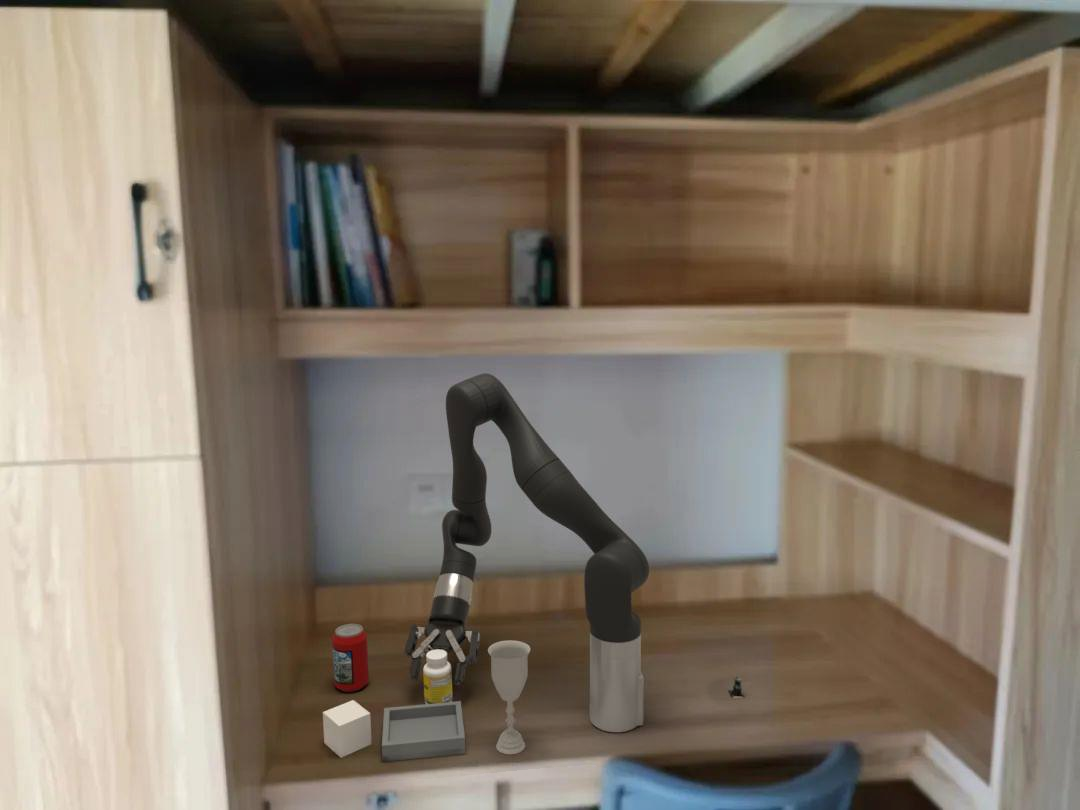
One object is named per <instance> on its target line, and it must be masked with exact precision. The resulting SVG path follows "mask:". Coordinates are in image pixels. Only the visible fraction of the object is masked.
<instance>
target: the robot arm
mask: <svg viewBox="0 0 1080 810" xmlns="http://www.w3.org/2000/svg"><path fill="white" fill-rule="evenodd" d="M445 412H446V413H445V414H446V415H445V416H446V421H447V429H448V438H449V443H450V444H449V445H450V451H451V457H452V485H451V486H452V487H451V503H452V506H453V507H454V508H455V509H451V510H449V511H447V513H446V514H445V515H444V516H443V519H442V521H441V522H442V523H441V531H442V540H443V556H442V557H443V558H442V563H441V568H440V572H439V577H438V579H437V583H436V586H435V588H434V595H433V599H432V604H431V608H430V613H429V618H428V623H427V625H426V626H425V627H422V626H418V625H417V624H415V623H414V624H412V625H411V626H410V629H409V633H408V637H407V641H406V644H405V648H404V650H403V651H404V654H405V655H406V657H408V658H409V659H411V663H410V668H409V672H408V673H409V676H410V677H411V678H410V679H411V680H413V681H414V682H418V681H419V680H418V679H419V677H420V676H419V675H420V671H421V667H422V666H421V665H422V660H423V659H424V658H426V654H427V653H428V652H429V651H432V650H436V649H440V650H444V651H446V652H447V653H449V654H451V653H452V652H455V654H456V656H457V658H458V662H457V663H456V668H455V675H454V679H453V681H454V682H453V683H454V685H456V686H460V685H461V683H464V680H465V676H466V671H467V667H468V665H471V664H477V663H478V659H479V650H480V643H481V642H480V641H481V635H480V632H479V631H478V629H477V628H476V629H472V630H467V629H466V628H467V622H468V618H469V614H470V613H469V611H470V608H471V606H470V605H471V604H472V596H473V585H474V578H475V573H476V569H477V568H476V567H477V557H476V556H475V555H474V554H473V553H471V552H469V551H468V550H465V549H462V548H461V547H459V546H457V544H458V545H459V544H460V545H465V546H473V547H483V546H485V545H486V544H487V543H488V542H489V540H490V539H491V536H492V523H491V518H490V515H489V512H488V507H487V502H486V496H487V481H488V480H487V479H488V477H487V475H488V474H487V468H486V466H485V463H484V462H483V460H482V458H481V457H480V455H479V454H478V452H477V450H476V448H475V445H474V438H475V431H476V430H477V429H476V428H477V427H479V426H481V425H484V424H486V423H488V422H490V421H492V422H493V423H494V424H495V425H496V426H497V428H498V429H499V431H501V433H502V434H503V435H504V437H505V440H507V443H508V445H509V451H510V457H511V465H512V470H513V476H514V479H515V481H516V483H517V485H518V487H519V488H520V489H521V490H522V492H523V493H524V494H525V496H526V498H528V499H529V501H530V502H531V503H532V504H533V506H534V507H535V508H536V509H537V510H538V511H539V512H540V513H541V514H543V515H545V516H546V517H547V518H549V519H551V520H552V521H554V522H556V523H558V524H559V525H561V526H563V527H564V528H566V529H568V530H570V531H571V532H573V533H574V534H575V535H576V536H578V537H579V538H580V539H581V540H582V541H583V542H584V543H585V545H587V546H588V548H589V549H590V550H591V552H592V553H593V555H592V556H591V557H589V558H588V560H587V562H586V565H585V567H584V568H585V569H584V578H583V579H584V580H583V583H584V607H585V615H586V619H587V621H588V623H589V720H590V722H591V724H592V725H594V727H595V728H597V729H599V730H602V731H604V732H610V733H625V732H629V731H631V730H633V729H635V728H637V727H638V726H639V727H640V726H644V698H645V696H644V695H645V694H644V691H645V690H644V689H645V687H644V685H645V683H644V681H645V680H644V675H643V673H642V671H641V665H642V664H641V661H642V659H641V658H642V656H641V655H642V654H641V653H642V652H641V649H642V643H641V642H642V620H641V617H640V616H639V615H638V614H637V613H636V612H635V611H633V610H632V607H633V606H632V593H633V592H635V591H636V590H638V589H639V588H640V587H641V586H643V585H644V584H645V583H646V582H647V580H648V578H649V575H650V574H649V573H650V566H649V561H648V559H647V557H646V555H645V553H644V552H643V550H642V548H640V547H639V546H638V544H637V543H636V542H635V541H634V540H633V539H632V538H631V537H630V536H629V535H628V534H627V533H626V532H624V530H622V528H620V526H619V525H618V524H616V523H615V521H613V520H612V519H611V518H610V517H609V515H607V514H606V512H605V511H603V509H602V508H601V506H599V504H598V503H597V502H596V501H595V500H594V498H592V496H591V495H590V494H589V493H588V491H587V490H586V489H585V488H584V487H583V486H582V484H580V482H579V481H578V480H577V479H576V477H575V476H574V474H573V473H572V471H570V469H568V467H567V466H566V465H565V463H564V462H563V461H562V460H561V459H560V458H559V457H558V455H557V454H556V452H554V451H553V450H552V449H551V448H550V447H549V445H548V444H547V443H546V442H545V440H544V439H543V438H542V436H541V435H540V434H539V433H538V432H537V430H536V429H535V427H534V426H533V425H532V424H531V423H530V420H529V419H528V418H527V417H526V415H525V414H524V412H523V411H522V410H521V408H520V407H519V405H518V403H517V402H516V401H515V399H514V398H513V396H512V395H511V393H510V391H509V390H508V389H507V388H506V386H505V385H504V384H503V382H501V380H500V379H498V378H497V377H496V376H494V375H493V374H490V373H485V372H484V373H481V374H478V375H474V376H472V377H470V378H467V379H464V380H461V381H459V382H457V383H456V384H453V385H452V386H450V387H449V389H448V390H447V393H446V396H445ZM423 635H425V639H424V640H423V641H421V643H420V644H419V647H417V644H418V641H419V639H421V638H422V636H423ZM466 639H467V640H468V642H469V643H470V645H469V651H468V652H469V653H468V655H465V654H464V651H463V649H462V647H461V644H462V643H463V642H464V641H465V640H466ZM416 647H417V648H416Z"/></svg>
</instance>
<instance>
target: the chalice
mask: <svg viewBox="0 0 1080 810" xmlns="http://www.w3.org/2000/svg"><path fill="white" fill-rule="evenodd" d="M530 646H531V645H528V644H527V643H525V642H523V641H519V640H511V639H510V640H501V641H497V642H495V643H493V644H491V645H490V646H489V647H488V649H487V652H488V654H489V656H490V662H491V663H490V665H491V666H490V669H491V670H490V671H491V673H490V674H491V680H492V681H493V684H494V687H495V689H496V691H497V693H498V694H499V697H500V698H501V699H502V700H503V701H504V702H506V703H507V704H506V705H507V706H506V708H505V712H506V715H507V716H506V718H505V720H504V722H505V723H506V724H507V728H506V729H505V730H503V731H502V733H500V736H499V738H498V740H497V743H496V745H495V746H496V750H497V751H498V752H500V753H501V754H505V755H516V754H519V753H521V752H522V751H524V749H526V748H525V747H526V743H525V741H524V739H523V737H522V734H521V733H520V732H519V731H518V730H517V729H514V723H515V722H516V718H514V713H515V711H516V710H515V708H514V705H513V704H514V701H517V700H518V699H519V698H520V695H521V694H522V691H523V689H524V687H525V684H526V681H527V678H528V676H529V675H528V673H529V672H528V661H529V660H528V656H529V654H530V652H531V647H530Z"/></svg>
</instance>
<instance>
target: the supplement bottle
mask: <svg viewBox="0 0 1080 810" xmlns="http://www.w3.org/2000/svg"><path fill="white" fill-rule="evenodd" d="M425 658H426V659H425V661H426V663H425V664H424V666H423V671H422V672H423V673H422V675H423V676H422V677H423V678H422V679H423V695H424V697H423V698H424V704H434V703H445V702H453V679H452V675H453V674H452V665H451V663H450V662H449V661H448V652H446V651H444V650H440V649H436V650H432V651H429V652H428V653H427V654H426V656H425Z"/></svg>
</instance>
